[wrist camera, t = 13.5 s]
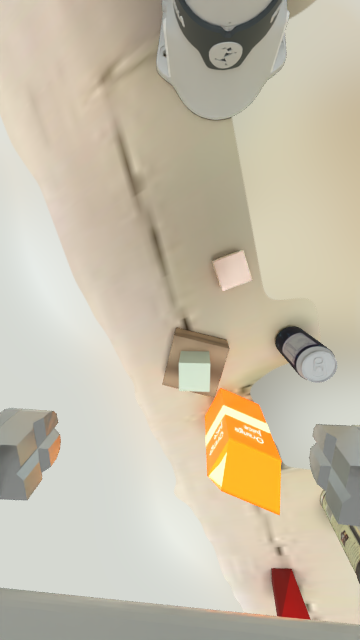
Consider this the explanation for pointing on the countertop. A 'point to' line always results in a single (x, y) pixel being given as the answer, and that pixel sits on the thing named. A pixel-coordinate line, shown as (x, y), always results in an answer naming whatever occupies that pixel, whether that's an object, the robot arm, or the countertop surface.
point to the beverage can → (306, 354)
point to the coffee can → (345, 537)
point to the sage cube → (194, 371)
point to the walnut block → (196, 342)
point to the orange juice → (242, 451)
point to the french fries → (288, 595)
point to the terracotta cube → (232, 270)
